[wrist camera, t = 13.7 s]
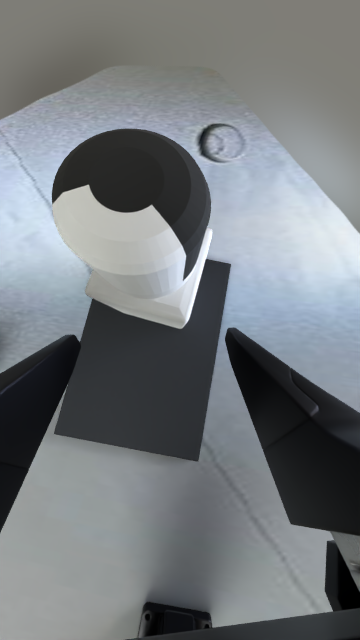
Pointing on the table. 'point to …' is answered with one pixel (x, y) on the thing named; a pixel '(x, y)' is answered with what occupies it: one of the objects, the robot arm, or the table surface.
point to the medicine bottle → (136, 222)
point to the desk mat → (146, 375)
